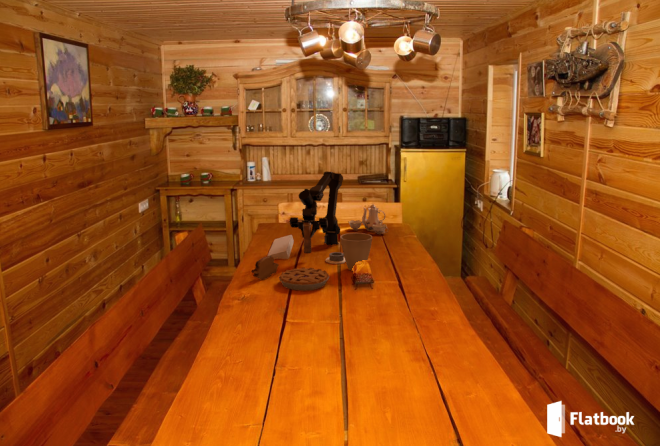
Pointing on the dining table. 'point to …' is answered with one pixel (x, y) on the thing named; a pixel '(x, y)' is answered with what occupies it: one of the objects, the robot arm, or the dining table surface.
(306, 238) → the brown tapered rod
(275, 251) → the decorative molding
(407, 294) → the dining table surface
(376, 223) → the chinaware
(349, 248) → the plant pot
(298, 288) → the pie
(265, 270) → the wooden carving
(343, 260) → the cup bracket
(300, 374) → the dining table surface
